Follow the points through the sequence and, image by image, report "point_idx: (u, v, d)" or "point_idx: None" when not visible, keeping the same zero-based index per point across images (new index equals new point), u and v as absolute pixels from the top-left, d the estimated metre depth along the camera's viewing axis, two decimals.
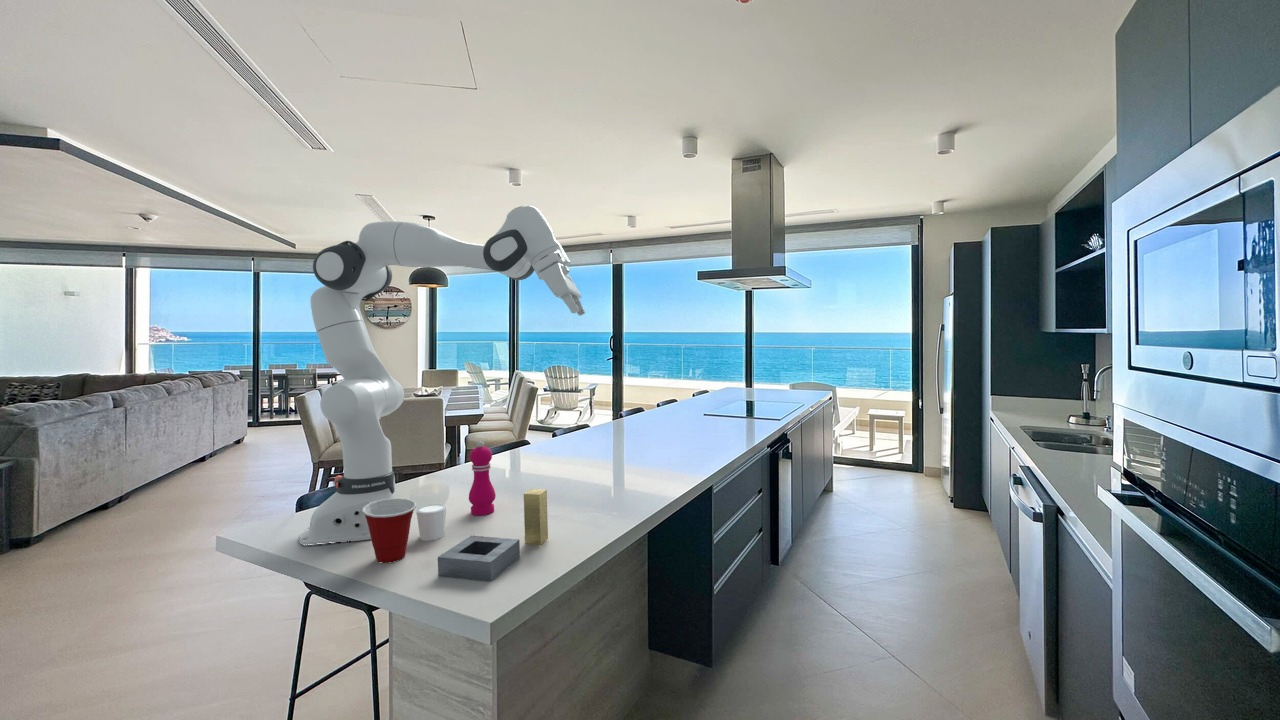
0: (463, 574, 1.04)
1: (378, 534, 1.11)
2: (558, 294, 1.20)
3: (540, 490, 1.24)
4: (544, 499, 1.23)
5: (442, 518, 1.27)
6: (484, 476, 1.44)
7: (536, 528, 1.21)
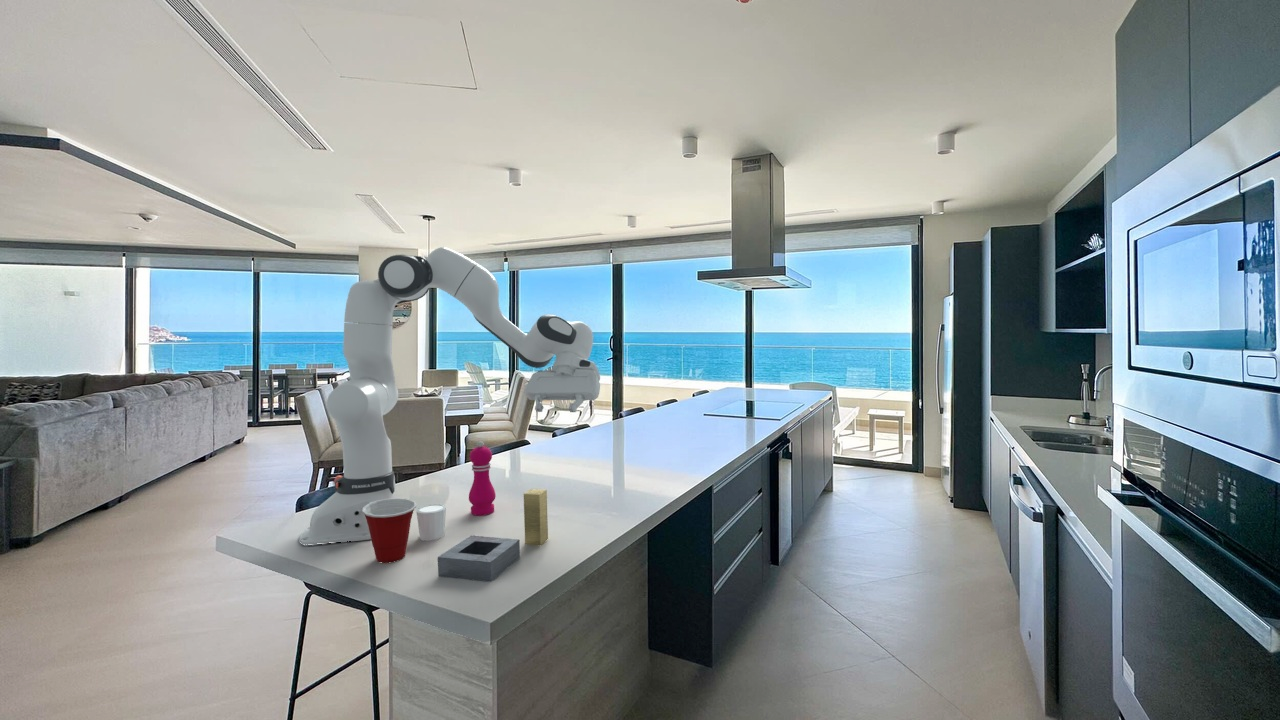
0: (463, 574, 1.04)
1: (378, 534, 1.11)
2: (593, 393, 1.34)
3: (540, 490, 1.24)
4: (544, 499, 1.23)
5: (442, 518, 1.27)
6: (484, 476, 1.44)
7: (536, 528, 1.21)
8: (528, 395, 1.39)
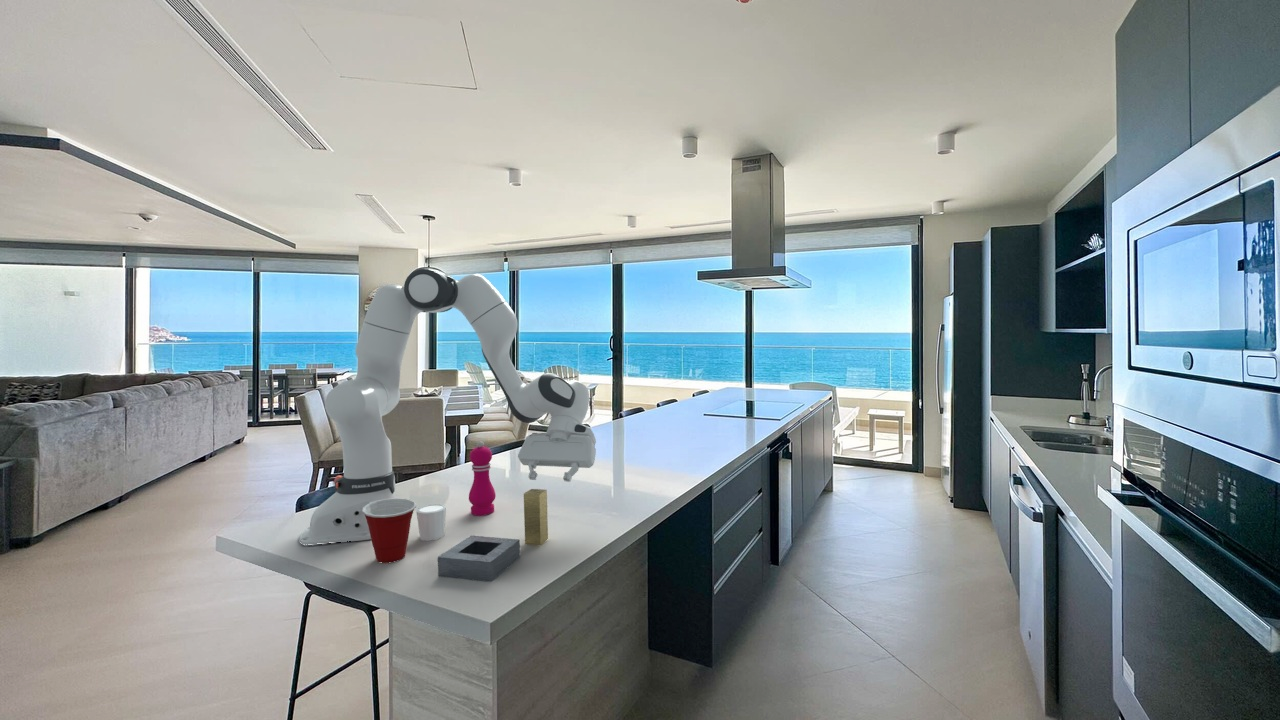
0: (463, 574, 1.04)
1: (378, 534, 1.11)
2: (588, 462, 1.31)
3: (540, 490, 1.24)
4: (544, 499, 1.23)
5: (442, 518, 1.27)
6: (484, 476, 1.44)
7: (536, 528, 1.21)
8: (522, 461, 1.35)
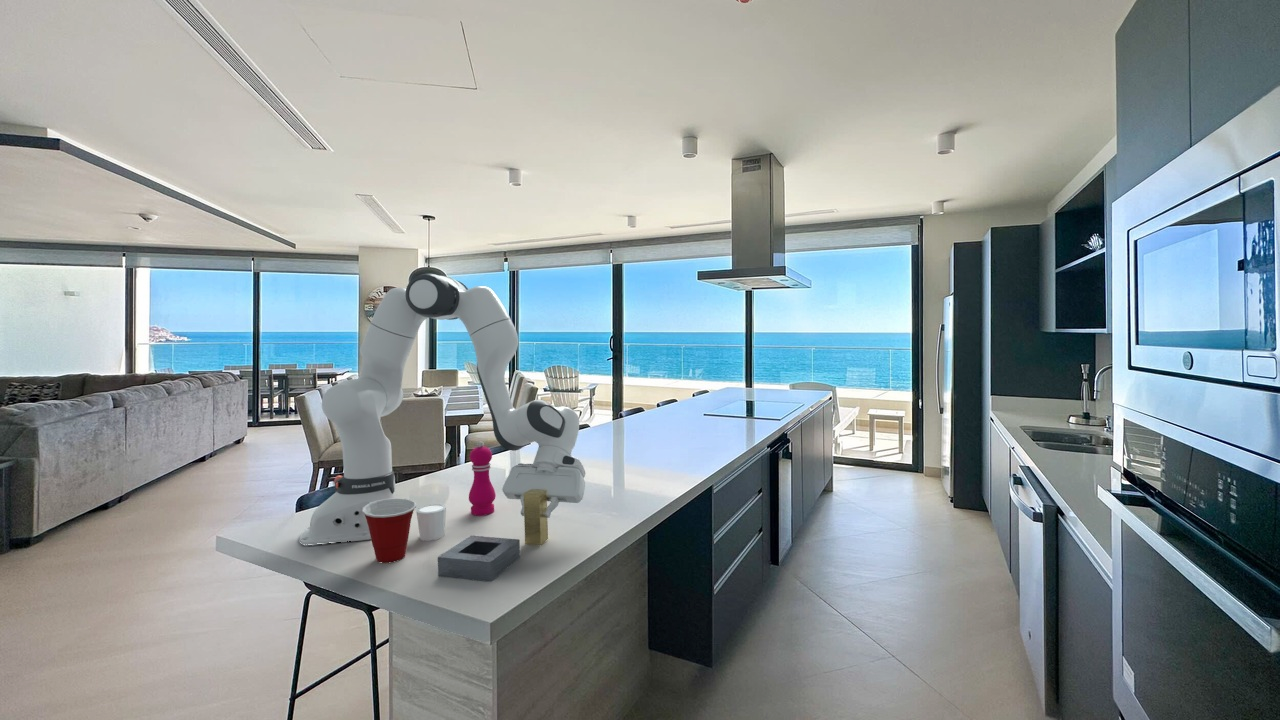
0: (463, 574, 1.04)
1: (378, 534, 1.11)
2: (576, 497, 1.23)
3: (540, 490, 1.24)
4: (544, 499, 1.23)
5: (442, 518, 1.27)
6: (484, 476, 1.44)
7: (536, 528, 1.21)
8: (506, 495, 1.27)
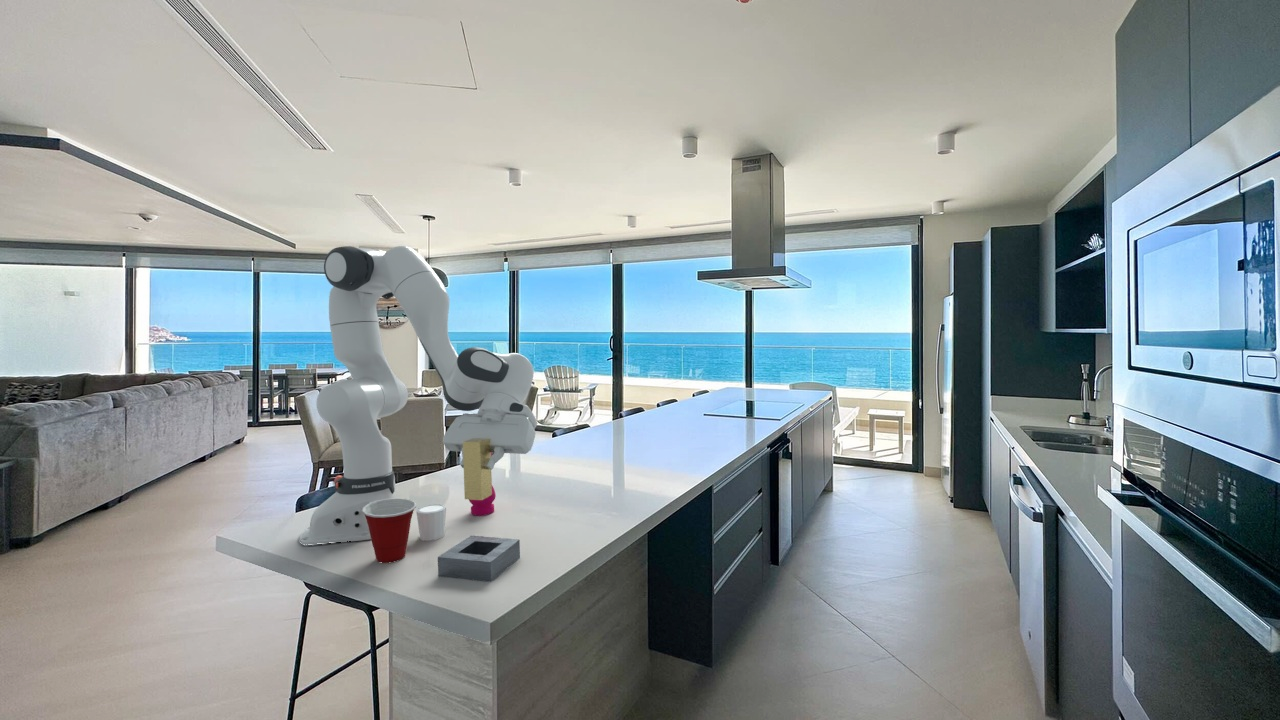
0: (463, 574, 1.04)
1: (378, 534, 1.11)
2: (523, 446, 1.09)
3: (483, 439, 1.10)
4: (487, 449, 1.09)
5: (442, 518, 1.27)
6: None
7: (477, 481, 1.07)
8: (447, 446, 1.14)
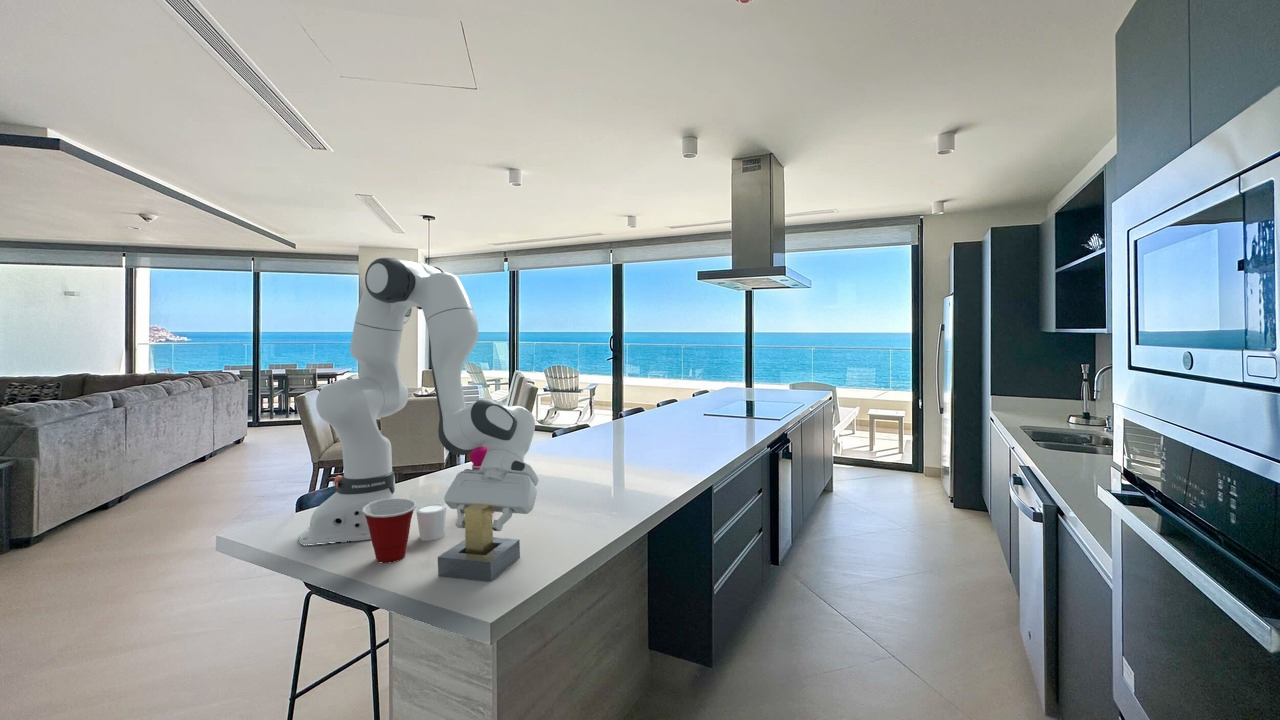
0: (463, 574, 1.04)
1: (378, 534, 1.11)
2: (525, 507, 1.09)
3: (484, 505, 1.11)
4: (488, 515, 1.10)
5: (442, 518, 1.27)
6: None
7: (478, 548, 1.08)
8: (448, 504, 1.14)
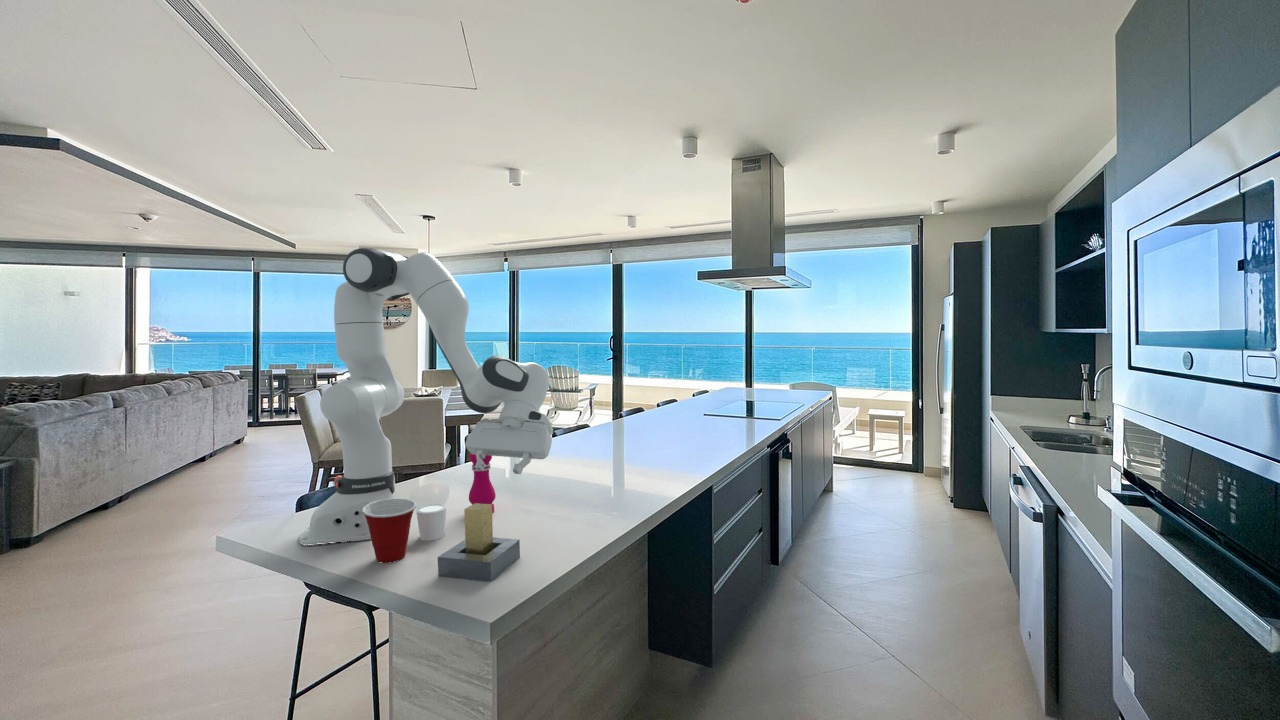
0: (463, 574, 1.04)
1: (378, 534, 1.11)
2: (541, 453, 1.18)
3: (484, 505, 1.11)
4: (488, 515, 1.10)
5: (442, 518, 1.27)
6: (484, 476, 1.44)
7: (478, 548, 1.08)
8: (469, 449, 1.23)
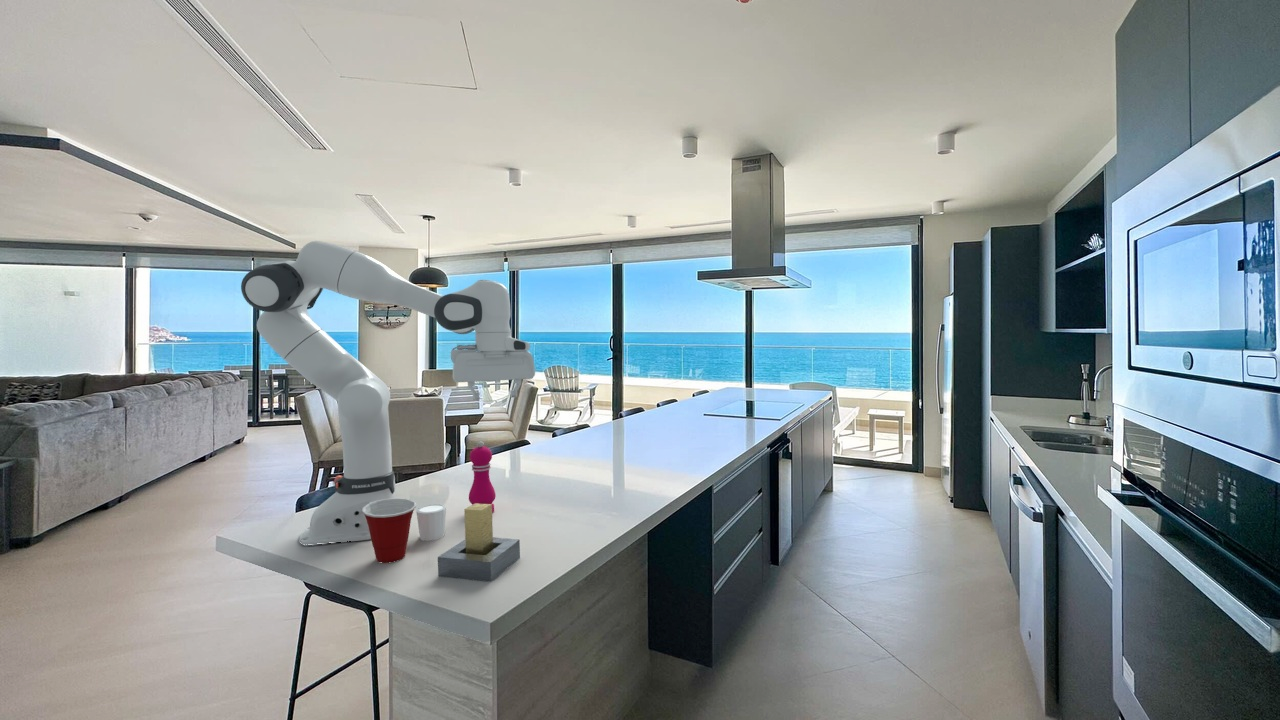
0: (463, 574, 1.04)
1: (378, 534, 1.11)
2: (532, 377, 1.36)
3: (484, 505, 1.11)
4: (488, 515, 1.10)
5: (442, 518, 1.27)
6: (484, 476, 1.44)
7: (478, 548, 1.08)
8: None
